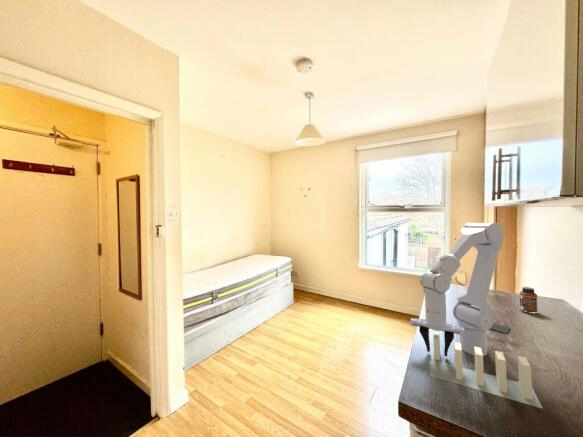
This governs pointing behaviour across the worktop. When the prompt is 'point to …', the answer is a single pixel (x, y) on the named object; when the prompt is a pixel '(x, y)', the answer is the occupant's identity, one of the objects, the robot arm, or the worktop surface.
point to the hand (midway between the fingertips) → (437, 352)
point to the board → (490, 385)
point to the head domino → (436, 345)
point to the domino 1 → (458, 361)
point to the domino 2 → (479, 366)
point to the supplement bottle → (528, 300)
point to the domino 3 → (501, 371)
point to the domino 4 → (525, 377)
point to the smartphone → (500, 329)
